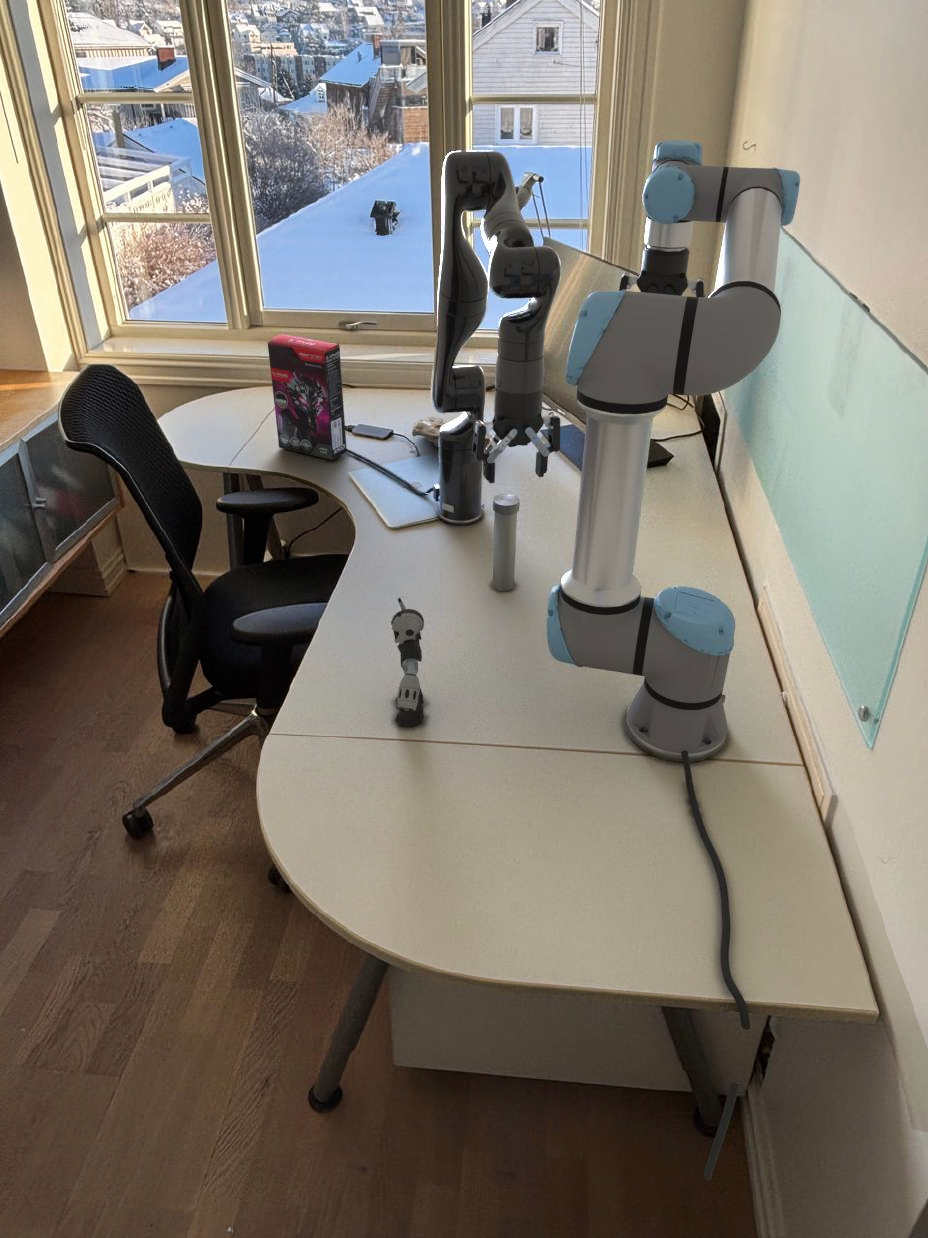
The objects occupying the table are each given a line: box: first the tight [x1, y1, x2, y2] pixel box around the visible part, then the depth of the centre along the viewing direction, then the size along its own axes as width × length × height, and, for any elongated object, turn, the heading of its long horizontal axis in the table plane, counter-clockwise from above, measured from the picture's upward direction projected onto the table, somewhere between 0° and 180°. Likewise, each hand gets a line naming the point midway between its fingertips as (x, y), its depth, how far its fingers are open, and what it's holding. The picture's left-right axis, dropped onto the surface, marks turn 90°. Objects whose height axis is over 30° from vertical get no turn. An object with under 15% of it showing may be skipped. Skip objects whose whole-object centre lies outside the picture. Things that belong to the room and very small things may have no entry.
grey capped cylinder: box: [491, 511, 518, 592], centre depth 173 cm, size 4×4×18 cm
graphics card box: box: [267, 333, 348, 461], centre depth 223 cm, size 17×7×27 cm, turn 62°
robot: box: [390, 597, 425, 728], centre depth 141 cm, size 20×5×20 cm, turn 3°
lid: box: [492, 493, 521, 515], centre depth 168 cm, size 5×5×2 cm
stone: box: [411, 416, 494, 450], centre depth 231 cm, size 21×15×6 cm
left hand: (514, 478), depth 152 cm, fingers open, 8 cm apart
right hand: (651, 373), depth 163 cm, fingers open, 13 cm apart
